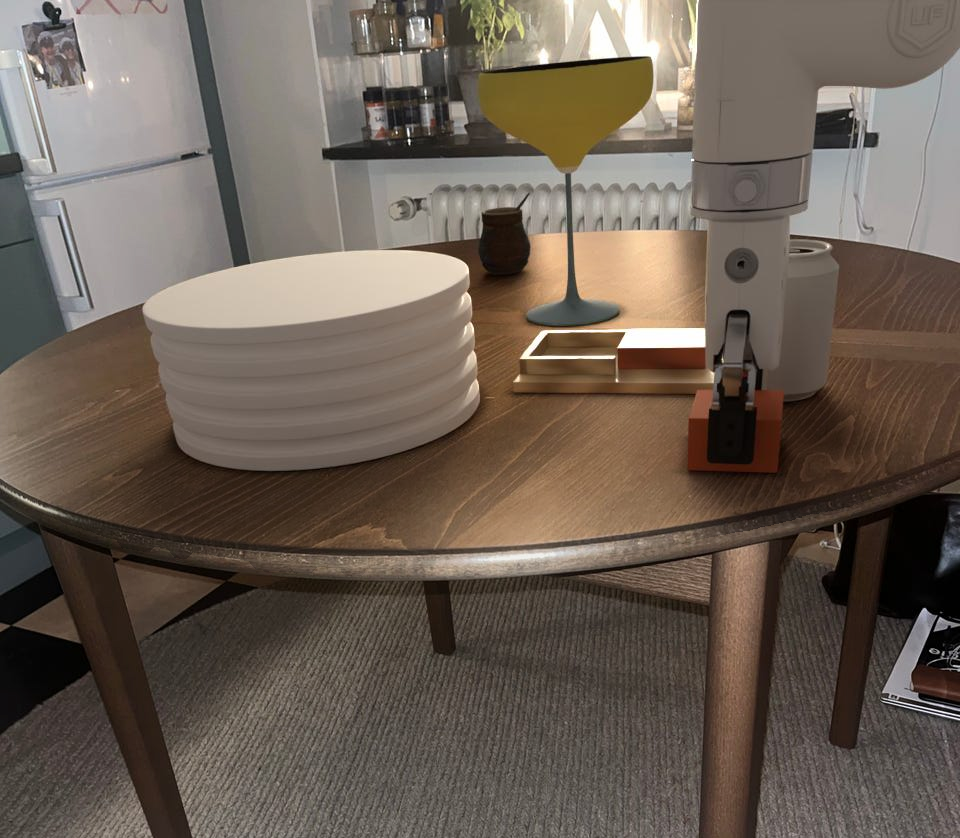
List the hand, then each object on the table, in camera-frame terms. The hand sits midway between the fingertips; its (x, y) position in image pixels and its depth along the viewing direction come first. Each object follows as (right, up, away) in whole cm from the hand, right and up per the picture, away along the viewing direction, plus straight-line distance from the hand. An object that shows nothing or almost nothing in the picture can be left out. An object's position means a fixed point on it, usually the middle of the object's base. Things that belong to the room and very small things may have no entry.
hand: (734, 437), depth 73 cm
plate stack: (-33, +6, +18) cm, 38 cm away
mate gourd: (-15, +36, +63) cm, 74 cm away
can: (+7, +6, +12) cm, 15 cm away
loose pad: (0, -1, +1) cm, 1 cm away
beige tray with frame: (-5, +11, +21) cm, 24 cm away
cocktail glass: (-8, +23, +40) cm, 47 cm away
